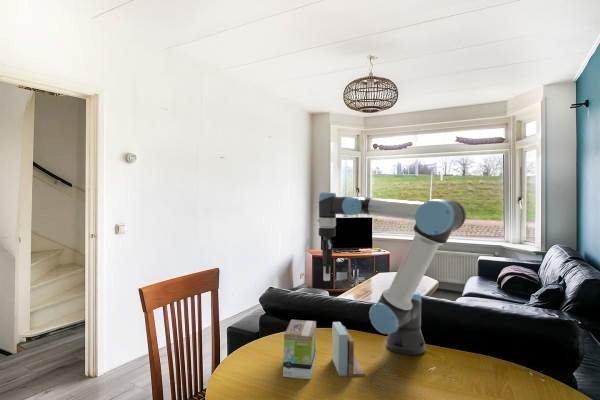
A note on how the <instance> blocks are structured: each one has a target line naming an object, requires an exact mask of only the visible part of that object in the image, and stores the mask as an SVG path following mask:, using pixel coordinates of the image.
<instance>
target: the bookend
mask: <svg viewBox="0 0 600 400" xmlns="http://www.w3.org/2000/svg"><path fill="white" fill-rule="evenodd" d="M342 326H343V327H344V329H345V331H346V332H347V334H348V365H347V376H348V377H351V378H352V377H365V376H366V374H365V371H364V369H363V368H362V365H361V363H360V362H359V360H358V359H357V357H356V355H355V353H354V352H355V351H354V350H355V341H354V340H353V339H354V338H352V336H351V334H350V333H349V331H348V329H347V328H346V326H345V325H342Z"/></svg>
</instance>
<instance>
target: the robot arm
mask: <svg viewBox="0 0 600 400" xmlns="http://www.w3.org/2000/svg"><path fill="white" fill-rule="evenodd" d="M337 215H346V216H355V215H367V216H376V217H377V216H379V217H386V218H393V219H399V220H401V219H402V220H408V221H415V223H414V226H413V233H414V237H413V239H412V241H411V242H410V245H409V247H408V248H407V252H406V253H405V255H404V257H403V260H402V261H401V264H400V265H399V267H398V270H397V272H396V273H395V276H394V278H393V280H392V282H391V284H390V286H389V288H386V289H384V290H383V291H382V293H381V295H380V297H379V299H378V301H377V302H374V304H372V305H371V307H370V308H369V310H368V311H369V312H368V315H369V320H370V323H371V325H372V326H373V327H374V328H375V330H376V331H377V332H378V333H381V334H383V335H387V337H386V347H387V348H388V349H389V350H390V351H392V352H394V353H398V354H401V355H407V356H415V355H416V356H417V355H421V354H424V353H425V351H426V342H425V340H424V336H423V334H422V329H421V327H422V295H421V294H420V293H419V292H417V289H418V287H419V285H420V284H421V281H422V280H423V278H424V276H425V273H426V271H427V270H428V268H429V266H430V264H431V262H432V260H433V258H434V256H435V254H436V253H437V251H438V248H439V247H440V246H442V245H446V243H447V241H448V239H449V238H450V236H451V234H452V232H455V231H457V230H459V229H460V228H462V226H464V224H465V222H466V218H467V217H466V216H467V213H466V210H465V208H464V206H463V205H462V204H461V203H460V202H458V201H456V200H454V199H448V198H447V199H444V198H443V199H441V198H433V199H429V200H426V201H425V202H423V201H415V200H414V201H412V200H411V201H410V200H402V199H401V200H400V199H389V198H379V197H377V198H375V197H369V196H337V194H336V192H330V191H329V192H328V191H327V192H320V193H319V195H318V219H317V222H318V236H319V237H323V238H322V240H321V253H322V255H321V256H322V263H323V264H322V266H323V276H322V277H323V278H322V280H323V281H324V282H330V281H331V266H332V264H333V263H332V261H333V258H332V256H333V247H334V244H333V240H332V237H335V236H337V235H336V233H337V230H336V226H337Z"/></svg>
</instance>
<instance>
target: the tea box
mask: <svg viewBox="0 0 600 400" xmlns="http://www.w3.org/2000/svg"><path fill="white" fill-rule="evenodd" d="M283 337H284V338H283V339H284V340H283V363H282V367H283V368H282V377H284V378H292V379H301V380H312V379H311V378H312V375H313V371H314V368H315V361H316V352H317V350H316V347H317V344H316V343H317V321H316V320H303V319H302V320H301V319H290V321H289V323H288V326H287V327H286V330H285V332H284V335H283Z"/></svg>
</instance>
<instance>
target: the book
mask: <svg viewBox="0 0 600 400" xmlns="http://www.w3.org/2000/svg"><path fill="white" fill-rule="evenodd" d="M331 326H332V327H331V328H332V332H331V334H332V337H331V343H332V344H331V360H332V362H333V365H334V368H335V367H336V368H335V369H336V370H335V371H336V373H337V374H338V377H340V376H348V373H347V365H348V334H347V332H346V331H345V329H344V327H343V326H344V325H343V324H342V323H341V321H333V322H332V325H331Z"/></svg>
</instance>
